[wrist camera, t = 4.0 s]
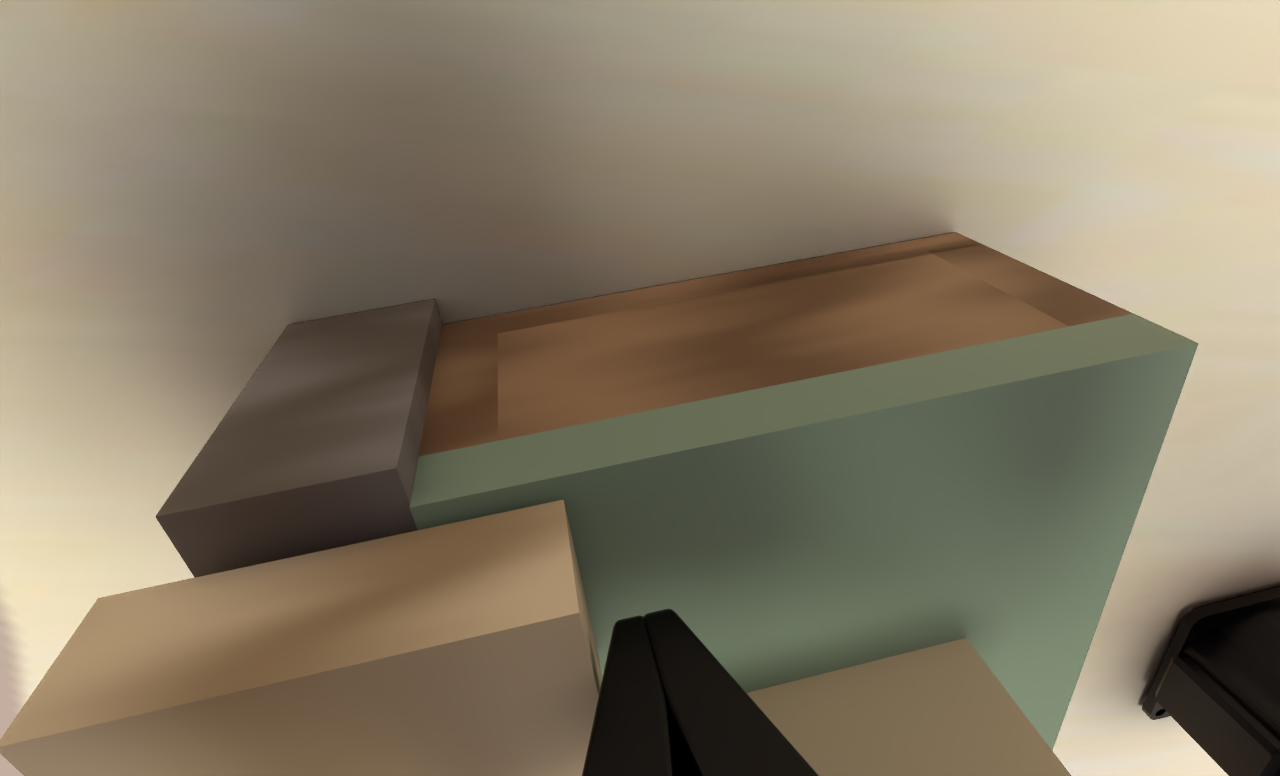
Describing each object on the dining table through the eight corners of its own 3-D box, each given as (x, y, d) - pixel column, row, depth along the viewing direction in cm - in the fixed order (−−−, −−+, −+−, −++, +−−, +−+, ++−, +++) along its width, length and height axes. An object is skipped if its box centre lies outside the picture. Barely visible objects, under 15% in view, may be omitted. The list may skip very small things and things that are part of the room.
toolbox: (959, 207, 15) (1204, 305, 10) (902, 629, 22) (1025, 814, 17) (288, 324, 13) (155, 516, 8) (464, 737, 21) (453, 977, 16)
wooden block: (563, 499, 9) (578, 612, 7) (599, 663, 11) (619, 785, 9) (97, 598, 8) (-6, 748, 7) (218, 755, 10) (161, 905, 8)
